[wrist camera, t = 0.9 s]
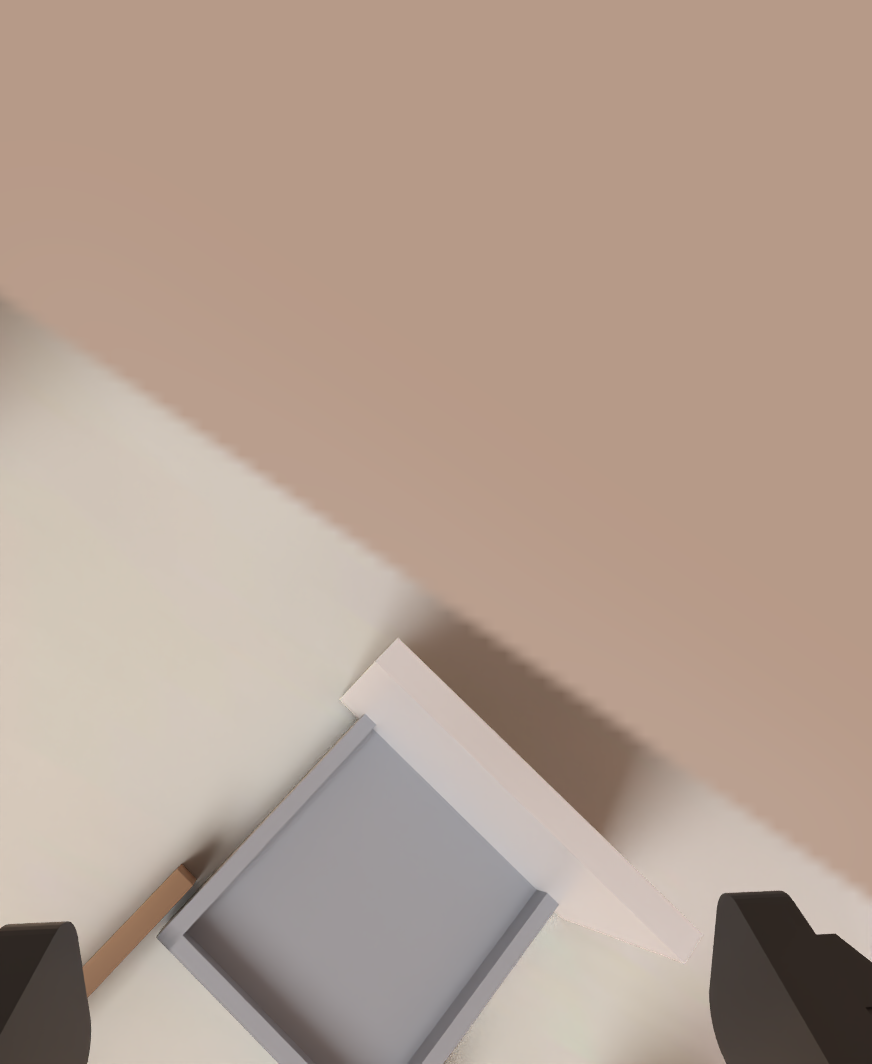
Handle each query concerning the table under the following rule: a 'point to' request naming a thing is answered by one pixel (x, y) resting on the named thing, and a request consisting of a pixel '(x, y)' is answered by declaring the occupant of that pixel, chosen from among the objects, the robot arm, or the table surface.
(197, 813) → the table surface
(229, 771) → the table surface
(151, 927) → the frame
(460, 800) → the tray
